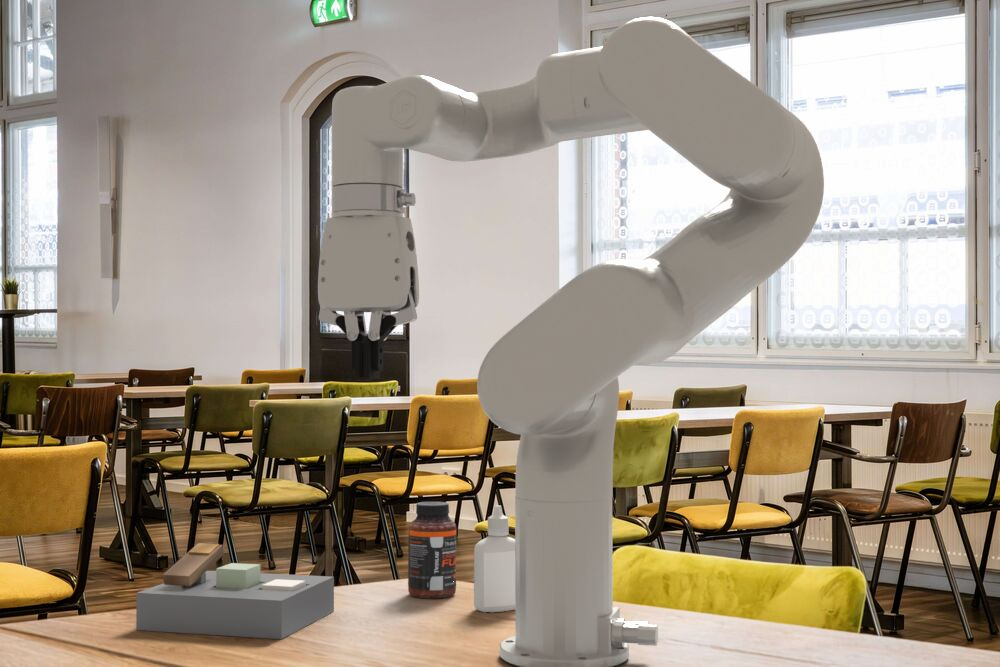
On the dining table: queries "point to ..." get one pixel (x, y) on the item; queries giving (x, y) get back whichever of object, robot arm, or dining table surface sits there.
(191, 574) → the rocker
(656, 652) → the dining table surface
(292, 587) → the white button
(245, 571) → the sage button
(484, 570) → the eye dropper bottle
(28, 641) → the dining table surface
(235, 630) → the console
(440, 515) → the supplement bottle
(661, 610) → the dining table surface
